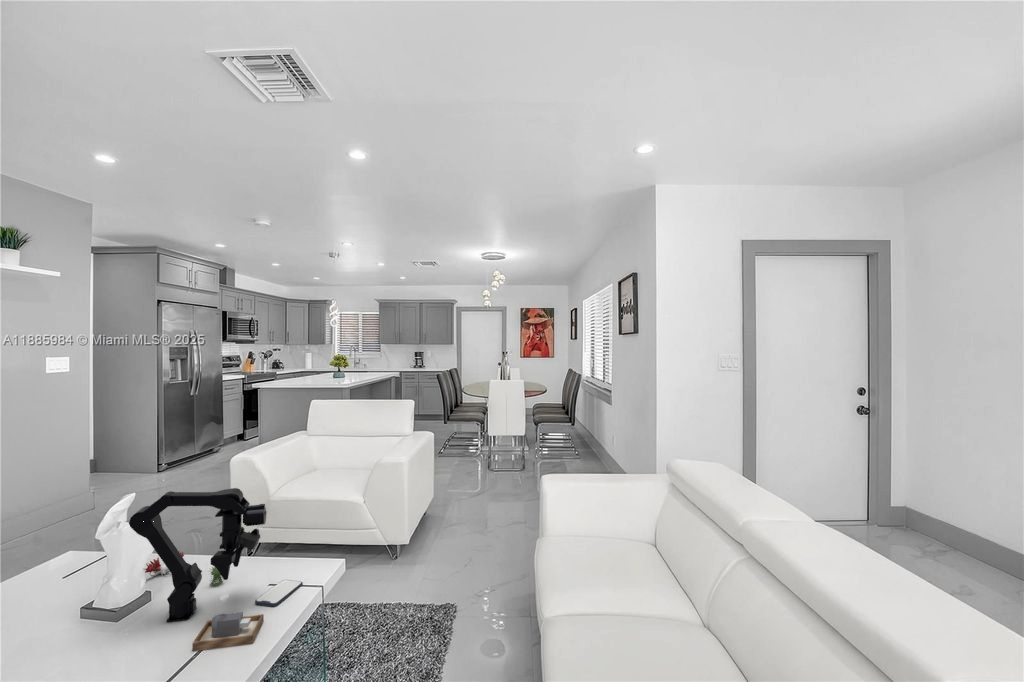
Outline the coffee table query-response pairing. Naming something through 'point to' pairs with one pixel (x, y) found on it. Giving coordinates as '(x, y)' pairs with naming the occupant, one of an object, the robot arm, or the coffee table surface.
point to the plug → (229, 624)
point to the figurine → (157, 567)
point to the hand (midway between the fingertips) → (231, 572)
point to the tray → (245, 636)
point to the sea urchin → (215, 576)
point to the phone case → (278, 593)
